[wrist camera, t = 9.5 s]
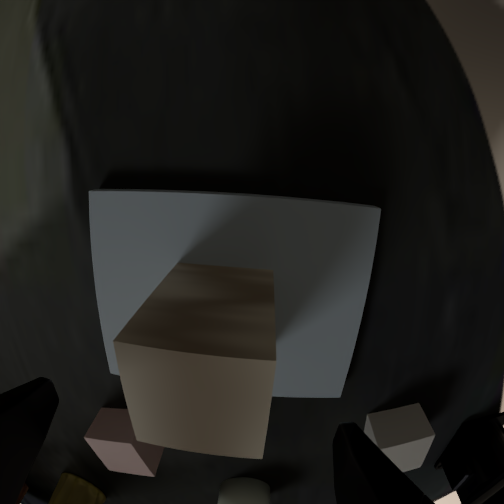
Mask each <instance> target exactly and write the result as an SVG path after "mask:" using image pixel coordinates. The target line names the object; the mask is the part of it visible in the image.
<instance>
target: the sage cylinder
mask: <svg viewBox="0 0 504 504" xmlns="http://www.w3.org/2000/svg"><path fill="white" fill-rule="evenodd" d="M218 504H270V487H269V485H268V484H267V483H265V482H263V481H261V480H258V479H254V478H247V477H237V478H230V479H227V480H225V481H223V482H222V483H221V485H220V491H219V498H218Z"/></svg>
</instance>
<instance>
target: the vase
mask: <svg viewBox="0 0 504 504" xmlns="http://www.w3.org/2000/svg"><path fill="white" fill-rule="evenodd" d="M105 500H106V497H105V495H104V493H103V492H102V491H101V490H100V489H99V488H97V487H96V486H95V485H93V484H92V483H90V482H88V481H87V480H85V479H83V478H81V477H79V476H77V475H74V474H71V473H62V474H61V477H60V480H59V482H58V484H57V486H56V488H55V490H54V492H53V494H52V497H51V499H50V501H49V503H48V504H103V503H104V501H105Z"/></svg>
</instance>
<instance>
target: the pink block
mask: <svg viewBox="0 0 504 504" xmlns="http://www.w3.org/2000/svg"><path fill="white" fill-rule="evenodd" d="M84 438H85V440H86V441H87V443H88V444H89V445H90V447H91V448H92V449H93V451H94V452H95V453H96V454H97V456H98V457H99V458H100V460H101V461H102V462H103V463H104V465H105V466H106V467H107V468H108V469H109V470H110V471H116V472H122V473H129V474H136V475H143V476H152V477H155V474H156V471H157V468H158V465H159V462H160V459H161V456H162V453H163V450H164V447H163V446H158V445H154V444H149V443H145V442H140V441H137V440H136V436H135V433H134V429H133V426H132V422H131V419H130V415H129V411H128V409H116V408H102V407H101V409H100V411H99V412H98V414H97V416H96V417H95V419H94V421H93V422H92V424H91V426H90V427H89V429H88V431H87V433H86V434H85V436H84Z"/></svg>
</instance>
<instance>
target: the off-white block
mask: <svg viewBox="0 0 504 504" xmlns="http://www.w3.org/2000/svg"><path fill="white" fill-rule="evenodd" d="M364 433H365V434H366V435H367V436H368V437H369V438H370V439H371V440H372V441H373V442H374V443H375V444H376V445H377V446H378V447H379V448H380V450H381V451H382V452H383V453H384V454H385V455H386V456H387V457H388V458H389V459H390V460H391V461H392V462H393V463H394V464H395V465H396V466H397V467H398V468H399V469H400V470H401V471H402V472H405V471H409V470H412V469H416V468H419V467H421V465H422V463H423V461H424V459H425V457H426V455H427V452H428V450H429V448H430V446H431V444H432V441H433V439H434V437H435V433H434V431H433V429H432V427H431V425H430V423H429V421H428V419H427V417H426V415H425V413H424V411H423V410H422V408H421V406H420V404H419V403H416V404H412V405H408V406H403V407H399V408H395V409H390V410H385V411H380V412H375V413H370V414H367V419H366V424H365V429H364Z"/></svg>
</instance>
